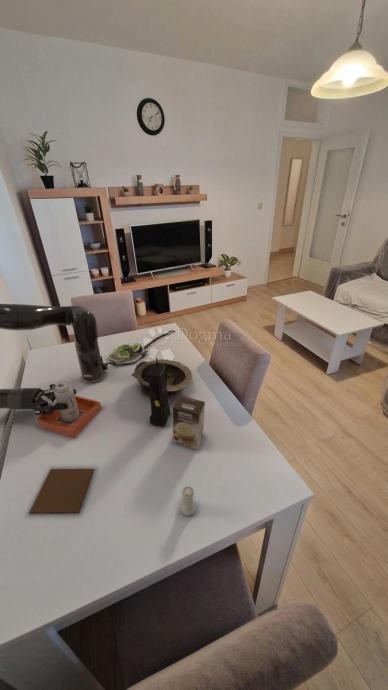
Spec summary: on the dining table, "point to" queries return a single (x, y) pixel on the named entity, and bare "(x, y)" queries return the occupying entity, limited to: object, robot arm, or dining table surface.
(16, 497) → the dining table surface
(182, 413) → the coffee box
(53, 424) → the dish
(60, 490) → the coaster
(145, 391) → the stone bowl
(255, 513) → the dining table surface
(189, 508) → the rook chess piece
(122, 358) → the salad plate
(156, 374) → the portable radio
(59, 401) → the energy drink can
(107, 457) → the dining table surface
